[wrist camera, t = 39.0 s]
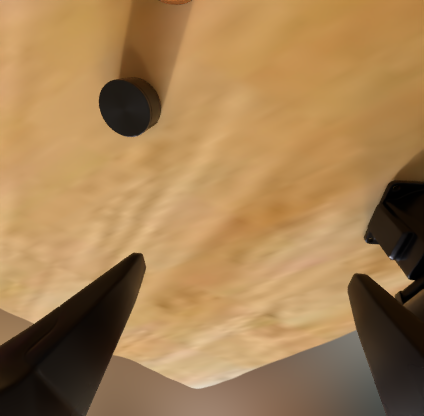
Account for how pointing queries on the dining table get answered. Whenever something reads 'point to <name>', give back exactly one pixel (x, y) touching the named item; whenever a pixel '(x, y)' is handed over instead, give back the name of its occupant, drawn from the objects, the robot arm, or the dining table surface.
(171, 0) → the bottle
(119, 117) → the cap
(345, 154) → the dining table surface
